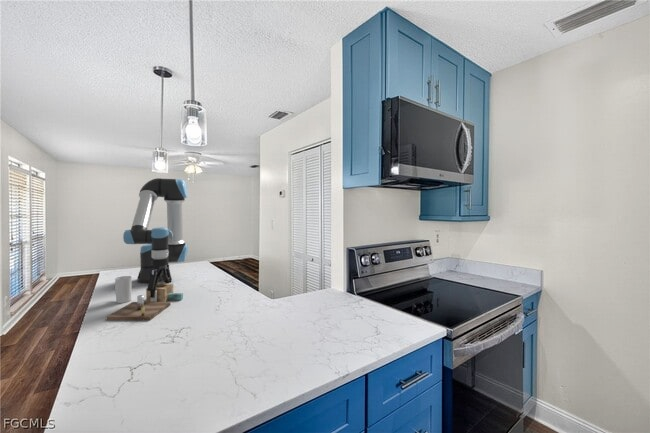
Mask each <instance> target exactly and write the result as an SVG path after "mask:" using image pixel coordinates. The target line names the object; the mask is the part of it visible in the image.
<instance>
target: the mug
mask: <svg viewBox="0 0 650 433" xmlns="http://www.w3.org/2000/svg"><path fill="white" fill-rule="evenodd" d="M132 282H133V281H132V276H131V275H124V276H123V275H122V276H118V277H115V280H114V288H115V302H116V303H117V304H126V303H129V302H131V301H132V284H133V283H132Z"/></svg>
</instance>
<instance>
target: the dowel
mask: <svg viewBox="0 0 650 433" xmlns="http://www.w3.org/2000/svg"><path fill="white" fill-rule="evenodd" d="M144 315H145V307H142V308H141V316H144Z"/></svg>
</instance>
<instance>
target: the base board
mask: <svg viewBox="0 0 650 433" xmlns="http://www.w3.org/2000/svg"><path fill="white" fill-rule="evenodd" d="M171 303H172V302H171V301H166V302H146V301H144V307H145V315H144V316H141V310H137V301H132V302H130V303H128V304H127V305H125V306H123V307H121V308H119V309H117V310H115V311H114V312H112V313H110V314H108V315H107V316H106V319H105V320H106V321H151V320H152V319H154V318H155V317H157V316H158V315H159V314H161V313H162V312H163V311H164V310H166V309H167V308H169V307H170V306H171V305H172V304H171Z"/></svg>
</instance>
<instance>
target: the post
mask: <svg viewBox="0 0 650 433" xmlns="http://www.w3.org/2000/svg"><path fill="white" fill-rule="evenodd" d="M136 300H137V301H136V302H137V310H141V308H142V307H144V302H145V295H143V294H142V295H137V299H136Z"/></svg>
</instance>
